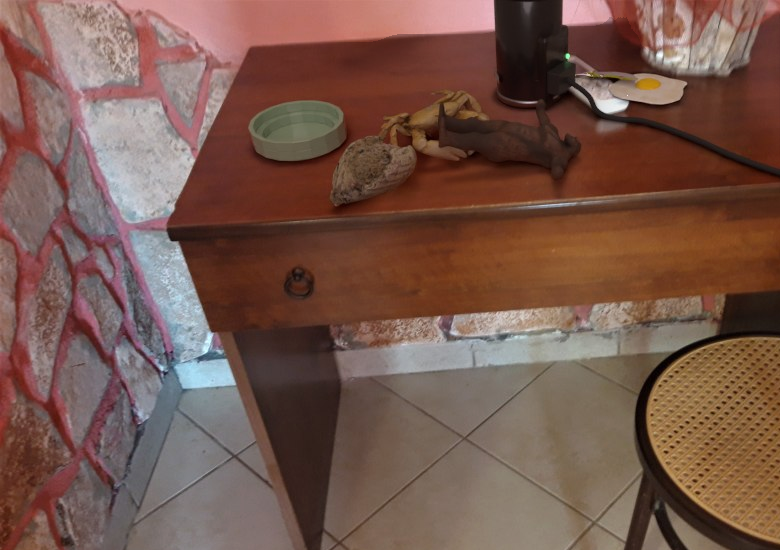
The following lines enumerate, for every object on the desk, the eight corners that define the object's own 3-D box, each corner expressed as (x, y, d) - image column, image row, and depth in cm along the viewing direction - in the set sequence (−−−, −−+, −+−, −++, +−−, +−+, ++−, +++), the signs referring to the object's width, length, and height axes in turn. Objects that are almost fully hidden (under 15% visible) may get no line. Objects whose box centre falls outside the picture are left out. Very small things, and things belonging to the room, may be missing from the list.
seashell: (335, 231, 92) (376, 209, 84) (297, 182, 90) (336, 154, 82) (394, 184, 98) (437, 159, 91) (360, 136, 96) (402, 107, 88)
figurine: (438, 76, 97) (575, 97, 101) (433, 113, 100) (565, 132, 104) (443, 147, 84) (598, 168, 88) (436, 187, 88) (587, 206, 92)
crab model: (431, 181, 93) (428, 138, 89) (361, 150, 99) (356, 109, 95) (515, 141, 102) (515, 100, 98) (446, 115, 108) (444, 76, 104)
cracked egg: (627, 70, 117) (628, 62, 116) (698, 80, 112) (699, 72, 111) (598, 95, 110) (599, 87, 109) (672, 107, 105) (673, 98, 105)
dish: (366, 134, 104) (363, 112, 102) (300, 173, 96) (295, 151, 94) (301, 113, 109) (297, 92, 107) (234, 149, 101) (228, 128, 99)
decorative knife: (647, 71, 112) (635, 79, 109) (647, 74, 112) (635, 83, 109) (575, 68, 117) (561, 76, 114) (575, 72, 118) (561, 80, 114)
